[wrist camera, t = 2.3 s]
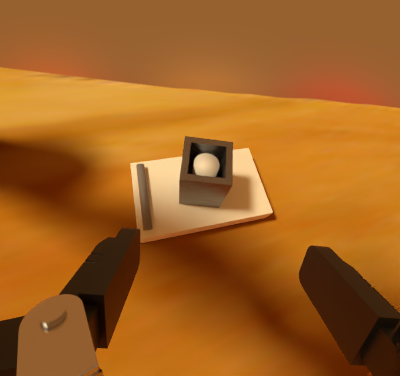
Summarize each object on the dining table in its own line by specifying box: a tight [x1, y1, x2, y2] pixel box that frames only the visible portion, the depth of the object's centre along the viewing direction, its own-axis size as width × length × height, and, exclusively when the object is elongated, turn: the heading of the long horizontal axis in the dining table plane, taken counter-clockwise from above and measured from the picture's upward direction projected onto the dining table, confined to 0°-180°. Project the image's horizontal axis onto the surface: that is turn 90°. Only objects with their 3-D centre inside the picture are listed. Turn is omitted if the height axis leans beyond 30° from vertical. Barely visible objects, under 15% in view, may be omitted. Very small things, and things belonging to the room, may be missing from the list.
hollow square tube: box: [179, 136, 233, 208], centre depth 27 cm, size 6×6×8 cm
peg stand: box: [131, 148, 273, 243], centre depth 29 cm, size 20×12×10 cm, turn 103°
